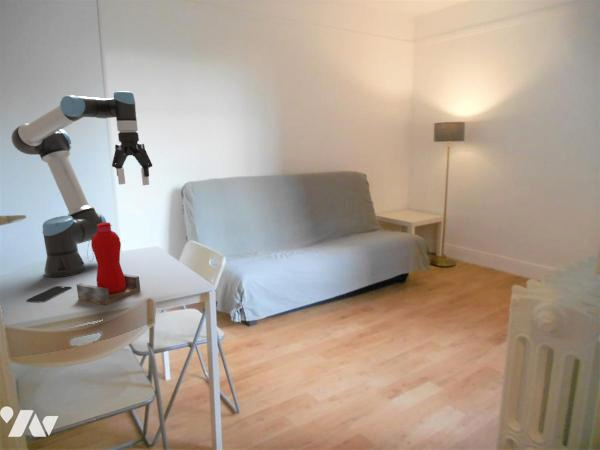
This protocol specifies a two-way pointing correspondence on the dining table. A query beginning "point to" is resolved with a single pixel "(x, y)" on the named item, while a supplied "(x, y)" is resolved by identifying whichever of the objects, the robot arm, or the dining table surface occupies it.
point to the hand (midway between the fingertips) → (133, 184)
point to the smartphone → (49, 294)
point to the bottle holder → (102, 295)
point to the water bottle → (108, 259)
